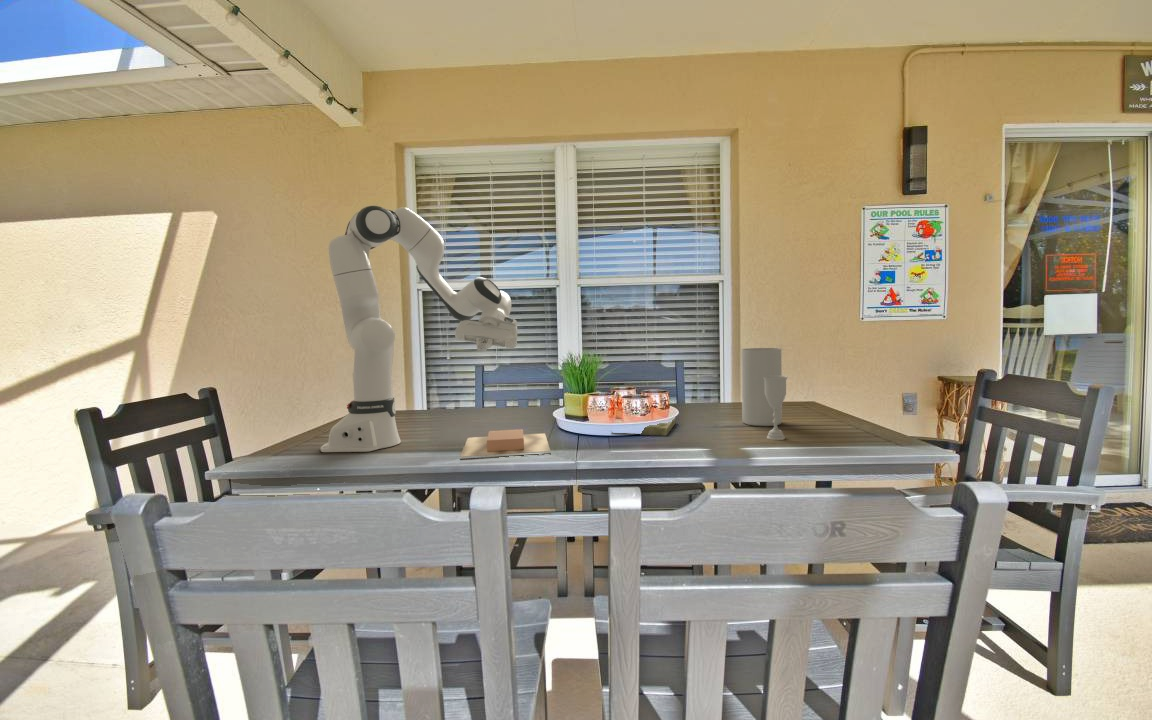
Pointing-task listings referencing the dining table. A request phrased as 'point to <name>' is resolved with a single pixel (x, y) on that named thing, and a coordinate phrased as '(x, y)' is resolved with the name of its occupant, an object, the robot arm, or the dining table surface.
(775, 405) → the chalice
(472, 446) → the oak board
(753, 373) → the cylinder vase
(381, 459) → the dining table surface
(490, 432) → the terracotta tile
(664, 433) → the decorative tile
